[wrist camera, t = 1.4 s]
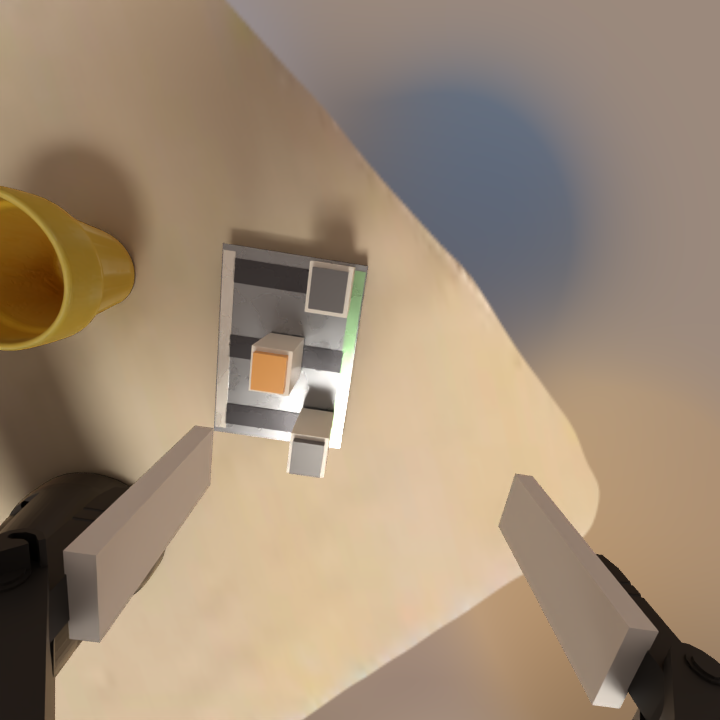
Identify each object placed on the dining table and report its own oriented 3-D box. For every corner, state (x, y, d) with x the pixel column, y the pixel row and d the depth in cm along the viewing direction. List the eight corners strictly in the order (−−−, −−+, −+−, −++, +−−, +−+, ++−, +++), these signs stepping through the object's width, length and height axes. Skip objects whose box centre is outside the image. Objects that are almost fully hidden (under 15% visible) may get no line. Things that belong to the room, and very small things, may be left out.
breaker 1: (266, 371, 31) (245, 393, 25) (269, 332, 30) (249, 347, 24) (300, 376, 31) (286, 399, 25) (304, 337, 30) (291, 353, 25)
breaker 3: (297, 441, 33) (284, 476, 27) (302, 407, 32) (289, 436, 26) (329, 446, 33) (322, 482, 27) (334, 412, 32) (328, 442, 26)
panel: (222, 421, 35) (213, 431, 33) (232, 244, 30) (222, 243, 28) (341, 438, 35) (339, 449, 33) (367, 266, 31) (368, 266, 29)
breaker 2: (314, 304, 29) (303, 312, 24) (319, 261, 28) (308, 260, 23) (349, 309, 29) (346, 319, 24) (355, 267, 28) (353, 267, 23)
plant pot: (171, 319, 32) (91, 341, 23) (65, 333, 32) (-58, 361, 23) (138, 198, 29) (31, 165, 20) (22, 216, 30) (-136, 192, 20)
